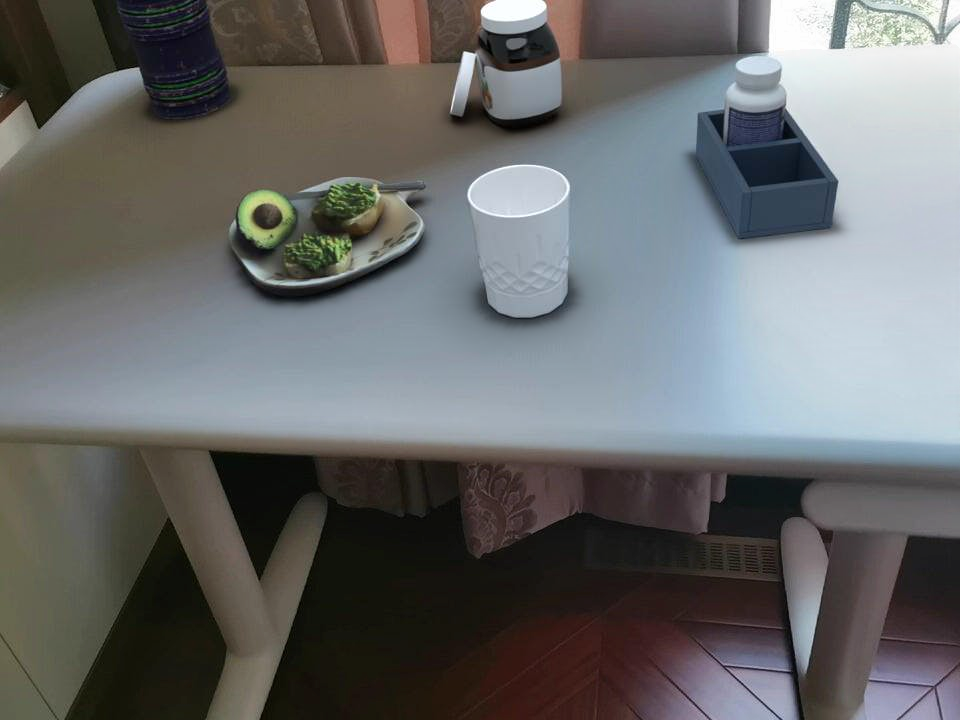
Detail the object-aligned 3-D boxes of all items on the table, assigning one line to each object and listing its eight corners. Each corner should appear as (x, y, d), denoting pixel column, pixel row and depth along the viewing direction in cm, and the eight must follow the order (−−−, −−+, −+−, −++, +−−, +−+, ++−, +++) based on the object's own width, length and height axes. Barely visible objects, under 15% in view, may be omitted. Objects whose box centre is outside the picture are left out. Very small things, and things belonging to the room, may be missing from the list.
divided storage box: (776, 145, 95) (781, 101, 92) (831, 227, 83) (839, 180, 80) (695, 155, 95) (697, 112, 92) (738, 239, 83) (742, 192, 80)
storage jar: (234, 110, 114) (189, -47, 102) (151, 126, 113) (96, -30, 101) (231, 78, 121) (190, -71, 110) (153, 92, 120) (103, -56, 109)
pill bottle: (789, 170, 89) (801, 70, 83) (734, 181, 89) (742, 81, 83) (764, 145, 93) (774, 48, 87) (712, 155, 93) (718, 58, 87)
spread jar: (573, 121, 103) (569, 14, 95) (476, 149, 100) (464, 41, 93) (526, 82, 112) (519, -19, 104) (436, 107, 109) (422, 4, 102)
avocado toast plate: (394, 166, 99) (387, 125, 96) (473, 242, 87) (468, 198, 84) (214, 227, 93) (201, 185, 90) (272, 319, 81) (258, 274, 78)
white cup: (525, 257, 84) (516, 154, 78) (593, 289, 80) (591, 183, 73) (460, 299, 80) (446, 195, 74) (528, 336, 76) (519, 228, 69)
